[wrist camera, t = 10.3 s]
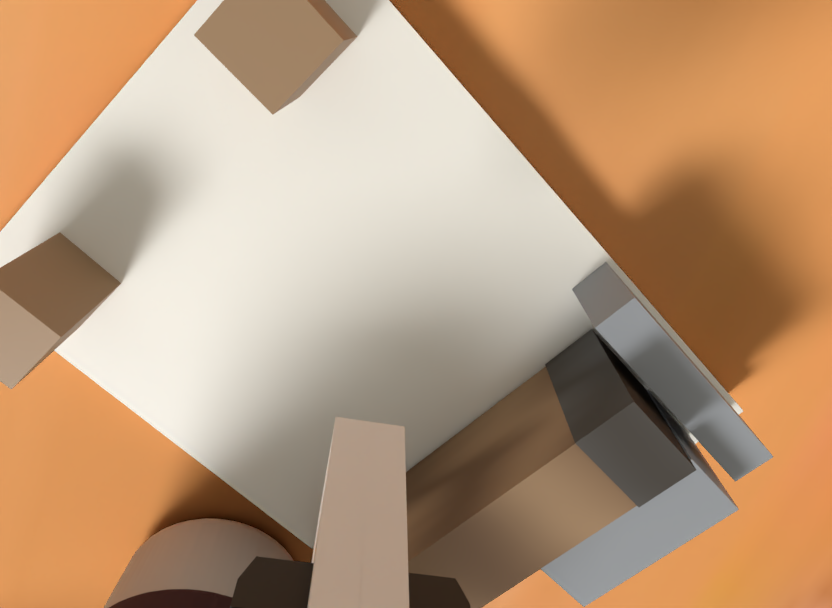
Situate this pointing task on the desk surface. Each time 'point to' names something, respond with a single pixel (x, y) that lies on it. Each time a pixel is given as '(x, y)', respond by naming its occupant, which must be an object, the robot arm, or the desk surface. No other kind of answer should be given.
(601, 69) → the desk surface
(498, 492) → the leg
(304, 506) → the board
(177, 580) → the coffee cup
